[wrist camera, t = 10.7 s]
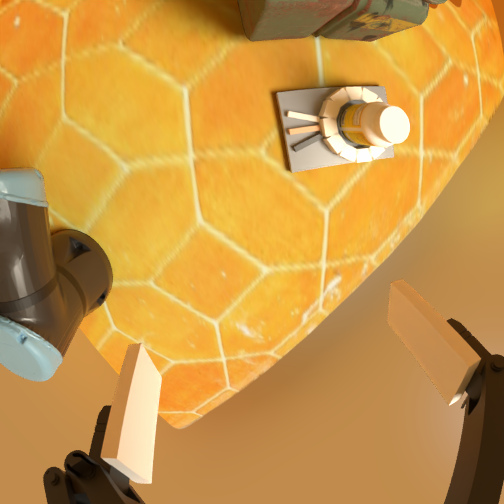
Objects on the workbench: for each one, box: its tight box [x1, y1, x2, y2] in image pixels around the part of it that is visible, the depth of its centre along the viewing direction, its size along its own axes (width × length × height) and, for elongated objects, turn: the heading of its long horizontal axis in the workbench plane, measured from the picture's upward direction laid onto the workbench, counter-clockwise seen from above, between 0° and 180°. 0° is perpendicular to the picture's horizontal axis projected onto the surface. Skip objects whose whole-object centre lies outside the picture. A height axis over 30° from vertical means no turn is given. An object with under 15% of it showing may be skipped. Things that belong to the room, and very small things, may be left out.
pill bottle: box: [338, 101, 410, 147], centre depth 33 cm, size 6×6×11 cm
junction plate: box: [275, 86, 394, 173], centre depth 37 cm, size 18×12×3 cm, turn 102°
